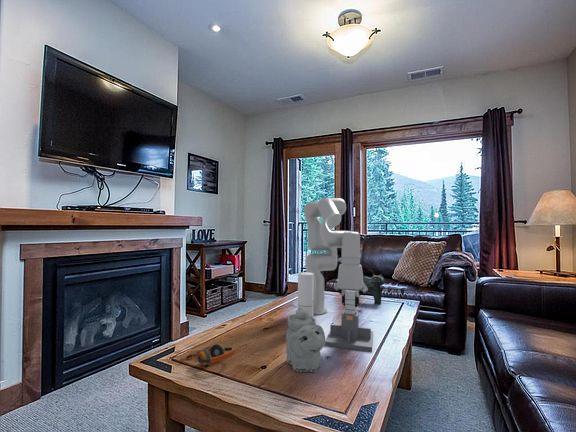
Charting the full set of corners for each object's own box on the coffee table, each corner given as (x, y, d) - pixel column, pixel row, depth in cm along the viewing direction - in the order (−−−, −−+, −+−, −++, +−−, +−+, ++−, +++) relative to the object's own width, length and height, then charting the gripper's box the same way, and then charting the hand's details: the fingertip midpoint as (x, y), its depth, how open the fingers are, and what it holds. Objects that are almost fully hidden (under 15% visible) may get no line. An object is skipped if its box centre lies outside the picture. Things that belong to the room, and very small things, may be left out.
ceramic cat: (384, 303, 187) (384, 270, 187) (381, 305, 181) (381, 271, 182) (353, 299, 198) (353, 267, 198) (349, 301, 192) (349, 268, 193)
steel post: (344, 336, 126) (344, 292, 127) (345, 332, 130) (346, 290, 130) (354, 337, 125) (355, 292, 125) (355, 334, 129) (355, 290, 129)
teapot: (319, 383, 92) (319, 320, 93) (273, 374, 98) (274, 314, 98) (332, 361, 108) (332, 307, 108) (291, 354, 113) (292, 302, 114)
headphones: (207, 339, 120) (245, 338, 109) (209, 353, 119) (247, 353, 108) (169, 354, 106) (208, 355, 95) (171, 371, 105) (211, 373, 94)
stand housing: (324, 345, 121) (325, 317, 122) (331, 330, 139) (331, 305, 139) (372, 351, 116) (372, 322, 117) (373, 334, 133) (373, 309, 134)
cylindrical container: (315, 327, 143) (315, 273, 143) (309, 331, 136) (310, 275, 137) (301, 324, 146) (301, 271, 146) (295, 329, 139) (295, 274, 140)
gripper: (329, 261, 127) (328, 306, 127) (371, 263, 122) (371, 309, 122) (331, 259, 134) (331, 301, 134) (371, 261, 129) (371, 305, 129)
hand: (350, 305), depth 128 cm, fingers closed on steel post, 4 cm apart
